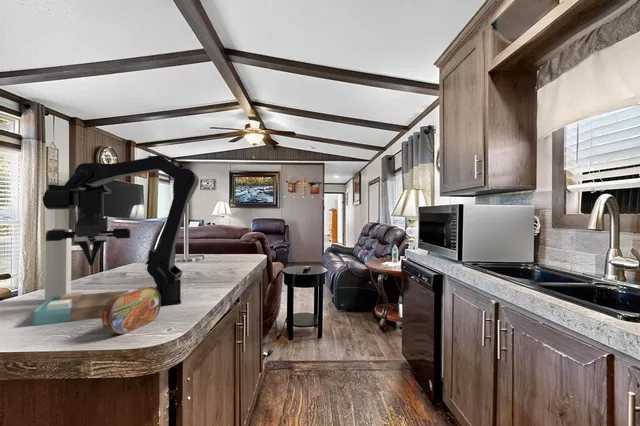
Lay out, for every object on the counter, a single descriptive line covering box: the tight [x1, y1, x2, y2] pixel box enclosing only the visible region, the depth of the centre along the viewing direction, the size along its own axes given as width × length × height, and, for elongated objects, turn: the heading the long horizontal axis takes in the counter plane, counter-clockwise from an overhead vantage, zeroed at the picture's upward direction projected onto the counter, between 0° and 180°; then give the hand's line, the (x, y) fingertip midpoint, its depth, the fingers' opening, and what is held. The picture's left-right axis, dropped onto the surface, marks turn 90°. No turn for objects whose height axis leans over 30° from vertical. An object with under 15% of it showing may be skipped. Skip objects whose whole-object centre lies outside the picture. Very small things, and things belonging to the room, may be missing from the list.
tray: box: [31, 293, 84, 327], centre depth 82 cm, size 7×16×3 cm, turn 28°
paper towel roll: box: [44, 228, 73, 302], centre depth 95 cm, size 7×6×21 cm
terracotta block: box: [60, 291, 83, 304], centre depth 86 cm, size 4×4×2 cm
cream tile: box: [47, 299, 72, 310], centre depth 79 cm, size 4×4×2 cm
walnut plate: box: [69, 289, 129, 322], centre depth 86 cm, size 11×16×3 cm
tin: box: [101, 286, 161, 335], centre depth 72 cm, size 15×3×8 cm, turn 168°
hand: (91, 265), depth 89 cm, fingers closed
